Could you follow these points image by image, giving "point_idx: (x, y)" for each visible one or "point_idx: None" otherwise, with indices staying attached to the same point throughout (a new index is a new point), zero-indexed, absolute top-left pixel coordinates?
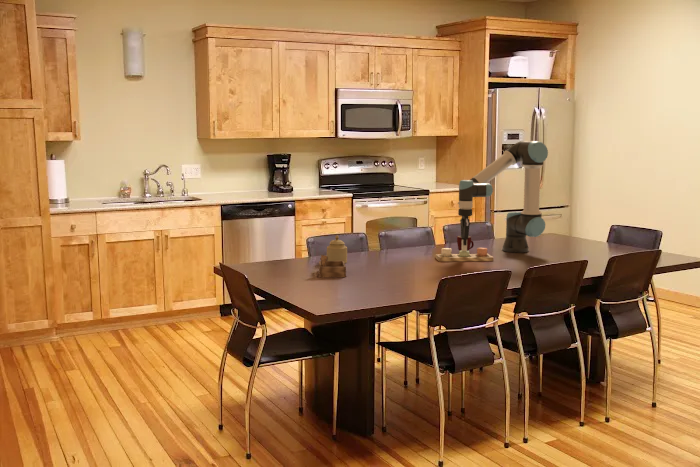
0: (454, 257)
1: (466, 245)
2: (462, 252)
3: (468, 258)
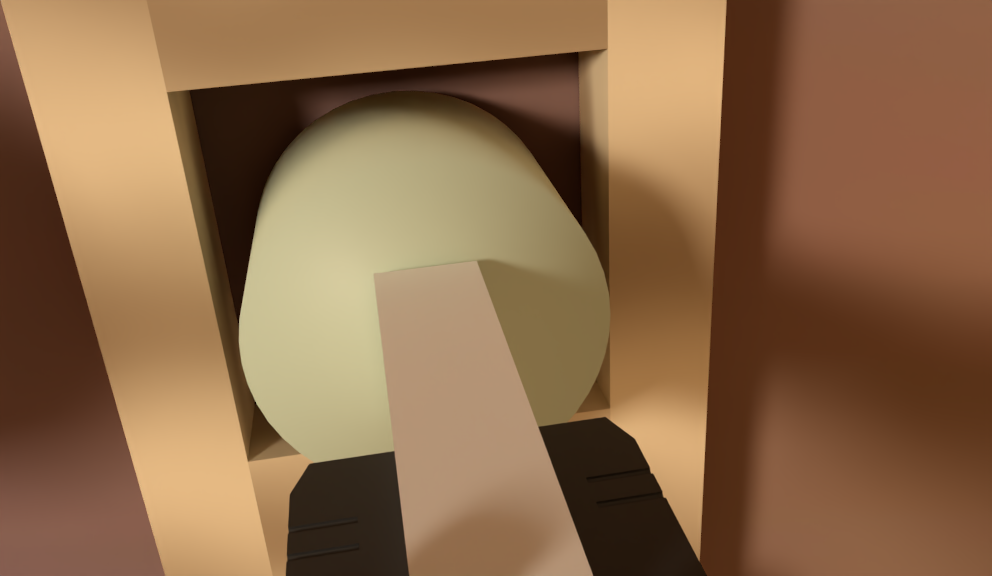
0: None
1: (516, 395)
2: (576, 394)
3: (704, 164)
